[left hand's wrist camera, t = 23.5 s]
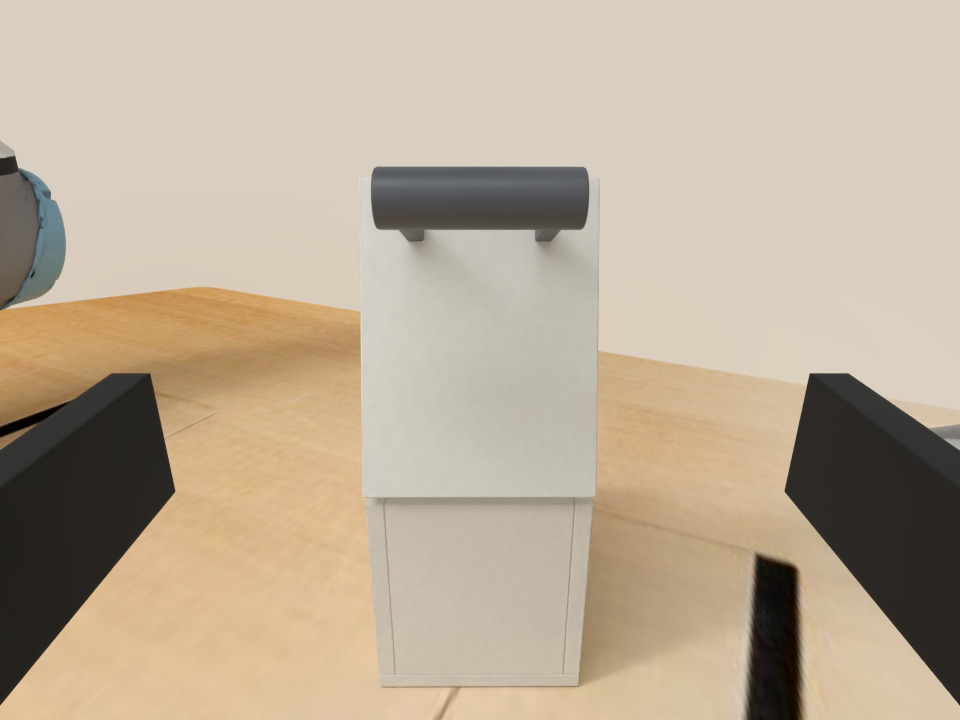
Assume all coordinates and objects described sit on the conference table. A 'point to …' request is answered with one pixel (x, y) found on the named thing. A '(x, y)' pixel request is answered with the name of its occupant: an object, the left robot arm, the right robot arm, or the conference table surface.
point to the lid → (479, 332)
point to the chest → (479, 589)
